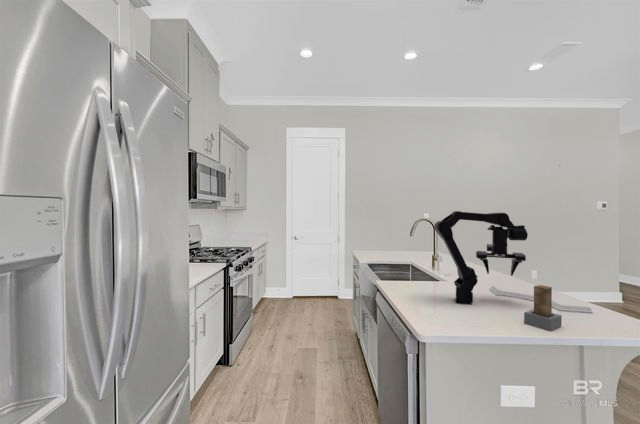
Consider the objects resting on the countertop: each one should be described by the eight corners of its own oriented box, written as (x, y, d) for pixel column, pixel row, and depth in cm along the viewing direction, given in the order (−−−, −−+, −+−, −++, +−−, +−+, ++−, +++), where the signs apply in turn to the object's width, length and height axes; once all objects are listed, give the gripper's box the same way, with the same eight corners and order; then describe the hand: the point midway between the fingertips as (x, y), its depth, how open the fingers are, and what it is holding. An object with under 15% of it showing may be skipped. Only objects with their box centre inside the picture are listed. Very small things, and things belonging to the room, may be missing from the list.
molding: (596, 313, 122) (596, 306, 122) (583, 318, 116) (583, 311, 116) (493, 289, 159) (493, 284, 159) (480, 292, 153) (480, 286, 153)
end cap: (524, 323, 110) (524, 312, 110) (535, 319, 114) (535, 308, 114) (550, 331, 103) (550, 319, 103) (561, 326, 107) (561, 315, 107)
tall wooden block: (533, 321, 109) (533, 286, 109) (538, 319, 111) (539, 284, 111) (546, 324, 106) (546, 288, 106) (551, 322, 108) (551, 287, 108)
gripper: (519, 239, 137) (519, 272, 137) (474, 238, 144) (474, 269, 145) (526, 241, 127) (526, 277, 127) (477, 240, 134) (477, 274, 134)
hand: (499, 274), depth 134 cm, fingers open, 9 cm apart
